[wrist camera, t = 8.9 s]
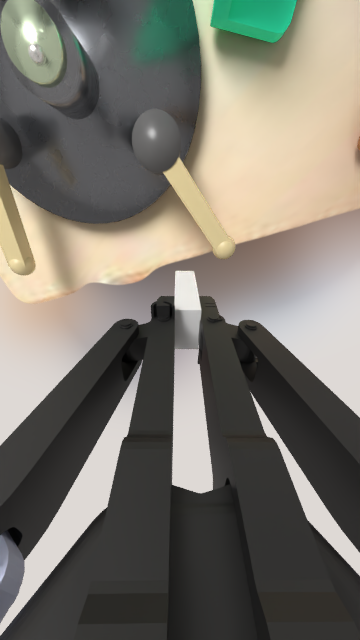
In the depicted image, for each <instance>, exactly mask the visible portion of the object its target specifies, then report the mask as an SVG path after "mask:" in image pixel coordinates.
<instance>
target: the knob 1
mask: <svg viewBox="0 0 360 640" xmlns="http://www.w3.org/2000/svg"><path fill="white" fill-rule="evenodd" d="M21 159H22V146H21V142H20V140H19V137H18V135H17V134H16V132H15V131H14V129H13V128H12V127H11V126H10V125H9V124H8V123H7V122H6V121H5V120H4V119H2V118H0V246H1V248H2V251H3V253H4V256H5V258H6V261H7V263H8V266H9V267H10V269H11V270H12V271H13V272H15V273H16V274H19V275H29V274H31V273H32V272H33V271H34V270H35V266H36V265H35V261H34V258H33V254H32V251H31V248H30V245H29V242H28V239H27V236H26V233H25V230H24V227H23V224H22V221H21V218H20V215H19V212H18V209H17V206H16V203H15V200H14V197H13V194H12V191H11V188H10V185H9V182H8V178H7V175H6V172H5V169H12V168H15V167H17V166H18V165H19V163H20V162H21Z"/></svg>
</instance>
